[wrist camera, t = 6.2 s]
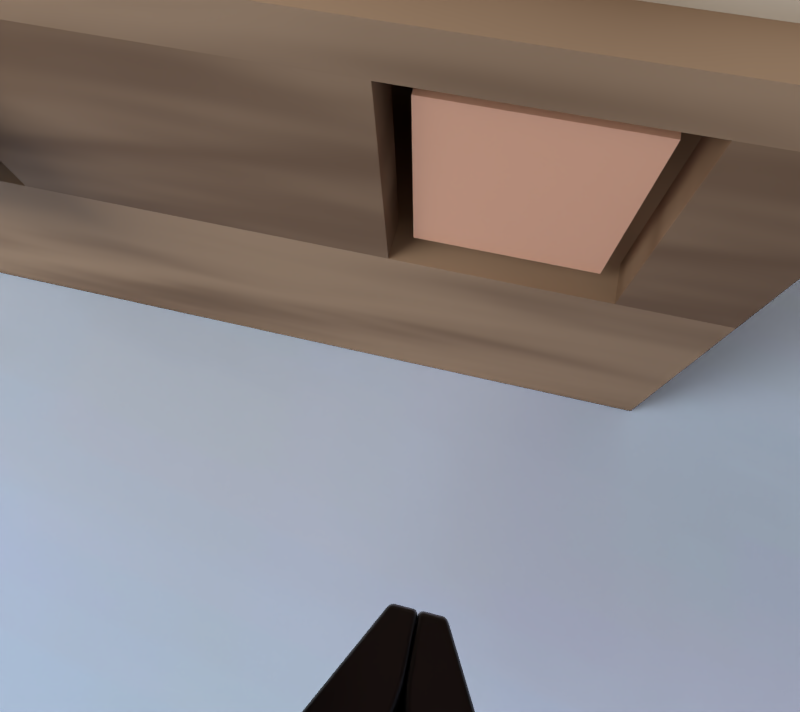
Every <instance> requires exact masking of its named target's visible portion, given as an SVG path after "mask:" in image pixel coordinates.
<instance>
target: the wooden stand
mask: <svg viewBox="0 0 800 712" xmlns="http://www.w3.org/2000/svg"><path fill="white" fill-rule="evenodd" d="M413 88H417V89H423V90H429V91H435V92H442V93H448V94H454V95H460V96H466V97H472V98H478V99H484V100H490V101H496V102H502V103H508V104H514V105H520V106H526V107H532V108H538V109H544V110H550V111H556V112H562V113H568V114H574V115H580V116H586V117H592V118H599V119H605V120H611V121H617V122H623V123H629V124H635V125H641V126H647V127H653V128H659V129H665V130H671V131H677V132H681V140H680V141H679V143H678V145H677V147H676V148H675V150H674V152H673V153H672V155H671V157H670V158H669V160H668V162H667V163H666V165H665V167H664V168H663V170H662V172H661V173H660V175H659V177H658V178H657V180H656V182H655V183H654V185H653V187H652V188H651V190H650V192H649V193H648V195H647V197H646V198H645V200H644V202H643V203H642V205H641V207H640V208H639V210H638V212H637V213H636V215H635V217H634V218H633V220H632V222H631V223H630V225H629V227H628V228H627V230H626V232H625V233H624V235H623V237H622V238H621V240H620V242H619V243H618V245H617V247H616V248H615V250H614V252H613V253H612V255H611V257H610V258H609V260H608V262H607V263H606V265H605V267H604V268H603V270H602V272H601V273H600V274H598V273H593V272H588V271H583V270H577V269H572V268H567V267H562V266H557V265H552V264H547V263H542V262H536V261H531V260H526V259H521V258H516V257H511V256H506V255H501V254H495V253H490V252H485V251H480V250H475V249H470V248H465V247H460V246H454V245H449V244H444V243H439V242H434V241H429V240H424V239H419V238H414V236H413V173H412V110H411V94H412V91H413ZM0 272H1V273H5V274H10V275H15V276H19V277H24V278H28V279H33V280H37V281H42V282H46V283H51V284H55V285H60V286H65V287H69V288H74V289H78V290H83V291H87V292H92V293H96V294H101V295H106V296H110V297H115V298H119V299H124V300H128V301H133V302H137V303H142V304H146V305H151V306H156V307H160V308H165V309H169V310H174V311H178V312H183V313H187V314H192V315H196V316H201V317H206V318H210V319H215V320H219V321H224V322H228V323H233V324H237V325H242V326H247V327H251V328H256V329H260V330H265V331H269V332H274V333H278V334H283V335H287V336H292V337H297V338H301V339H306V340H310V341H315V342H319V343H324V344H328V345H333V346H338V347H342V348H347V349H351V350H356V351H360V352H365V353H369V354H374V355H378V356H383V357H388V358H392V359H397V360H401V361H406V362H410V363H415V364H419V365H424V366H428V367H433V368H438V369H442V370H447V371H451V372H456V373H460V374H465V375H469V376H474V377H479V378H483V379H488V380H492V381H497V382H501V383H506V384H510V385H515V386H519V387H524V388H529V389H533V390H538V391H542V392H547V393H551V394H556V395H560V396H565V397H570V398H574V399H579V400H583V401H588V402H592V403H597V404H601V405H606V406H610V407H615V408H620V409H624V410H629V411H631V410H632V409H634V408H635V407H636V406H637V405H639V404H640V403H641V402H643V401H644V400H645V399H646V398H648V397H649V396H650V395H651V394H653V393H654V392H655V391H657V390H658V389H659V388H660V387H662V386H663V385H664V384H666V383H667V382H668V381H669V380H671V379H672V378H673V377H674V376H676V375H677V374H678V373H680V372H681V371H682V370H683V369H685V368H686V367H687V366H689V365H690V364H691V363H692V362H694V361H695V360H696V359H698V358H699V357H700V356H701V355H703V354H704V353H705V352H706V351H708V350H709V349H710V348H712V347H713V346H714V345H715V344H717V343H718V342H719V341H721V340H722V339H723V338H724V337H726V336H727V335H728V334H729V333H731V332H732V331H733V330H735V329H736V328H737V327H738V326H740V325H741V324H742V323H744V322H745V321H746V320H747V319H749V318H750V317H751V316H753V315H754V314H755V313H756V312H758V311H759V310H760V309H761V308H763V307H764V306H765V305H767V304H768V303H769V302H770V301H772V300H773V299H774V298H776V297H777V296H778V295H779V294H781V293H782V292H783V291H784V290H786V289H787V288H788V287H790V286H791V285H792V284H793V283H795V282H796V281H797V280H799V279H800V0H0Z"/></svg>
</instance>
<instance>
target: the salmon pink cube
mask: <svg viewBox="0 0 800 712" xmlns="http://www.w3.org/2000/svg"><path fill="white" fill-rule="evenodd" d="M411 110H412V173H413V236H414V238H419V239H424V240H429V241H434V242H439V243H444V244H449V245H454V246H460V247H465V248H470V249H475V250H480V251H485V252H490V253H495V254H501V255H506V256H511V257H516V258H521V259H526V260H531V261H536V262H542V263H547V264H552V265H557V266H562V267H567V268H572V269H577V270H583V271H588V272H593V273H598V274H600V273H601V272H602V270H603V268H604V267H605V265H606V263H607V262H608V260H609V258H610V257H611V255H612V253H613V252H614V250H615V248H616V247H617V245H618V243H619V242H620V240H621V238H622V237H623V235H624V233H625V232H626V230H627V228H628V227H629V225H630V223H631V222H632V220H633V218H634V217H635V215H636V213H637V212H638V210H639V208H640V207H641V205H642V203H643V202H644V200H645V198H646V197H647V195H648V193H649V192H650V190H651V188H652V187H653V185H654V183H655V182H656V180H657V178H658V177H659V175H660V173H661V172H662V170H663V168H664V167H665V165H666V163H667V162H668V160H669V158H670V157H671V155H672V153H673V152H674V150H675V148H676V147H677V145H678V143H679V141H680V140H681V132H677V131H671V130H665V129H659V128H653V127H647V126H641V125H635V124H629V123H623V122H617V121H611V120H605V119H599V118H592V117H586V116H580V115H574V114H568V113H562V112H556V111H550V110H544V109H538V108H532V107H526V106H520V105H514V104H508V103H502V102H496V101H490V100H484V99H478V98H472V97H466V96H460V95H454V94H448V93H442V92H435V91H429V90H423V89H417V88H413V91H412V94H411Z"/></svg>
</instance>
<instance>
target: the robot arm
mask: <svg viewBox="0 0 800 712" xmlns="http://www.w3.org/2000/svg"><path fill="white" fill-rule="evenodd" d="M302 712H475V711H474V707H473V704H472V701H471V697H470V694H469V691H468V687H467V684H466V680H465V677H464V674H463V670H462V667H461V664H460V660H459V657H458V653H457V650H456V647H455V643H454V640H453V637H452V633H451V630H450V626H449V623H448V621H447V619H446V618H445V617H443V616H439V615H435V614H431V613H428V612H420V613H419V614H418V616H417V612H416V610H415V609H412V608H408V607H404V606H400V605H397V604H391V605H389V606H388V607H387V608H386V609H385V610H384V612H383V613H382V614H381V615H380V617H379V618H378V619H377V620H376V621H375V623H374V624H373V625H372V626H371V628H370V629H369V630H368V631H367V633H366V634H365V635H364V636H363V637H362V639H361V640H360V641H359V642H358V644H357V645H356V646H355V647H354V649H353V650H352V651H351V652H350V653H349V655H348V656H347V657H346V658H345V660H344V661H343V662H342V663H341V665H340V666H339V667H338V668H337V669H336V671H335V672H334V673H333V674H332V676H331V677H330V678H329V679H328V681H327V682H326V683H325V684H324V686H323V687H322V688H321V689H320V690H319V692H318V693H317V694H316V695H315V697H314V698H313V699H312V700H311V702H310V703H309V704H308V705H307V706H306V708H305V709H304V710H303V711H302Z"/></svg>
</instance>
